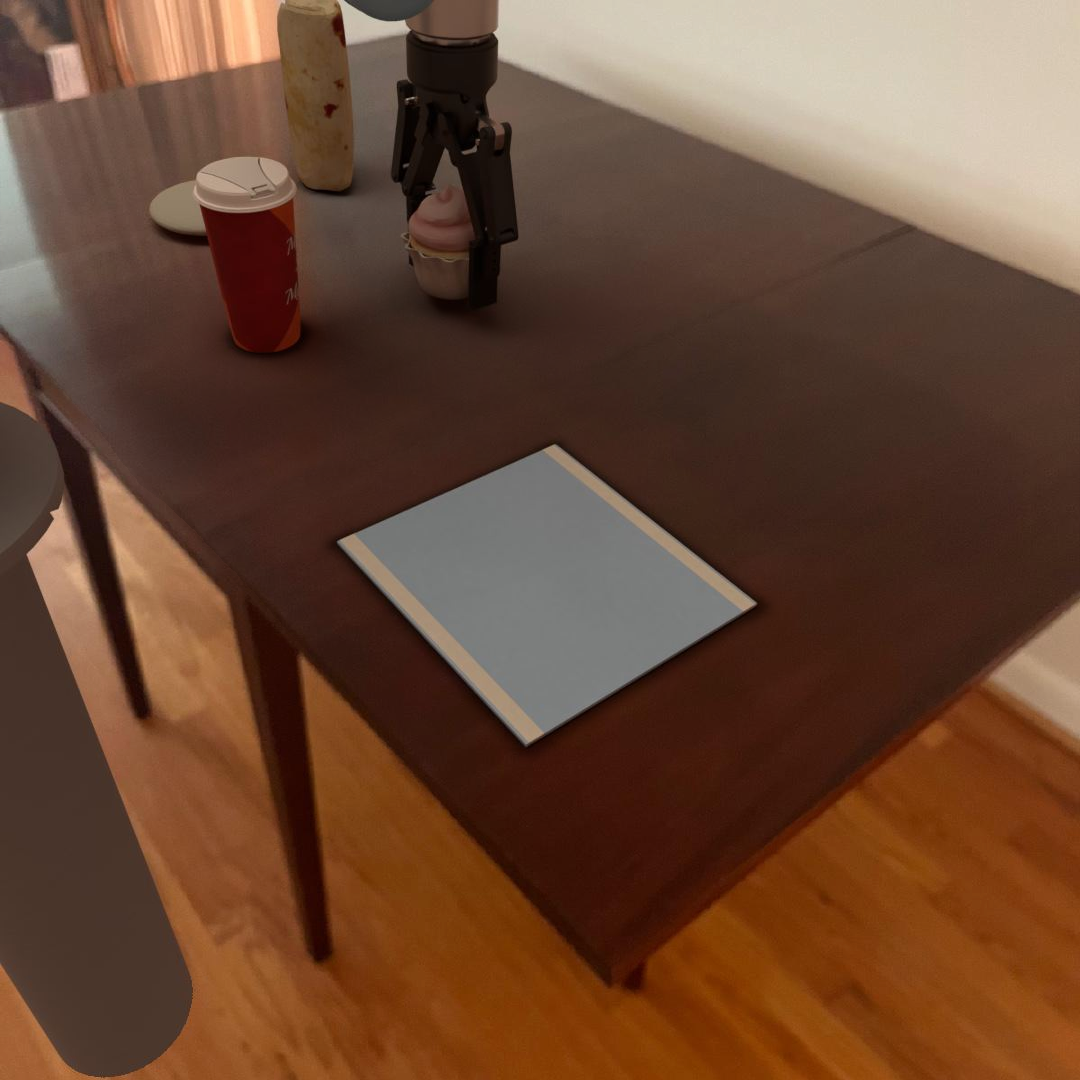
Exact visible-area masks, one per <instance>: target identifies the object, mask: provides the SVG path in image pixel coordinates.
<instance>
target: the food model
mask: <svg viewBox="0 0 1080 1080" xmlns="http://www.w3.org/2000/svg"><path fill="white" fill-rule="evenodd" d="M276 32H277V39H278V47H279V55H280V66H281V75H282V85H283V87H282V88H283V93H284V103H285V109H286V115H287V121H288V131H289V137H290V144H291V149H292V156H293V160H294V166H295V169H296V172H297V175H298V177H299V180H300V181H301V182H302V183H303V184H304V185H305V186H306V187H307V188H309V189H312V190H321V191H322V190H323V191H324V190H325V191H332V192H341V191H344V190H345V189H347V188H349V187H350V186H351V184H352V181H353V173H354V157H355V156H354V155H355V154H354V153H355V132H354V131H355V130H354V129H355V128H354V111H353V101H352V100H353V99H352V98H353V97H352V88H351V77H350V76H351V75H350V66H349V55H348V47H347V39H346V30H345V23H344V15H343V11H342V7H341V4H340V2H339V1H338V0H284V2H280V5H279V8H278V10H277V15H276Z"/></svg>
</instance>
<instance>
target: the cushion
mask: <svg viewBox="0 0 1080 1080" xmlns="http://www.w3.org/2000/svg"><path fill="white" fill-rule="evenodd" d="M195 185H196V179H193V180H188V181H185V182H181V183H177V184H175V185H173V186H170V187H168V188H166V189H164V190H162V191H161V192H159V193H158V194H157V195H156V196H155V197H153V199H152V201H151V202H150V204H149V208H148V209H149V210H148V211H149V216H150V218H151V219H152V220H153V221H154V223H156V224H157V225H159V226H160V227H162V228H164V229H165V230H168V231H170V232H173V233H177V234H182V235H187V236H188V235H189V236H199V237H204V236H205V237H206V236H207V233H206V229H205V224H204V220H203V216H202V212H201V208H200V204H199V203H198V202H197V201H196V200H195V199H194V197H193V190H194V187H195Z"/></svg>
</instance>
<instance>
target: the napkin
mask: <svg viewBox="0 0 1080 1080" xmlns="http://www.w3.org/2000/svg"><path fill="white" fill-rule="evenodd" d="M336 543H337V546H338V547H339V548H340V549H341V550H342V551H343V552H344V553H345V554H346V555H347V557H348V558H350V560H351V561H352V562H353V563H354V564H355V565H356V566H357V567H358V569H359V570H360V571H362V573H363V574H364V575H365V576H366V577H367V578H368V580H370V581H371V582H372V583H373V584H374V586H375V587H376V588H377V589H378V590H379V592H381V593H382V594H383V596H384V597H386V598H387V600H389V602H390V603H391V604H392V605H393V606H394V607H395V608H396V609H397V610H398V612H400V613H401V614H402V616H403V617H404V618H405V619H406V620H407V621H408V622H409V623H410V624H411V625H412V626H413V627H414V629H415V630H417V632H418V633H419V634H420V635H421V636H422V637H423V638H424V640H426V642H427V643H428V644H429V645H430V646H431V647H432V648H433V649H434V650H435V651H436V652H437V653H438V654H439V656H440V657H441V658H442V659H443V660H444V661H445V662H446V663H447V664H448V665H449V666H450V667H451V668H452V669H453V671H454V672H455V673H456V674H457V675H458V676H459V677H460V678H461V679H462V680H463V682H464V683H466V685H467V686H468V687H469V688H470V689H471V690H472V691H473V692H474V694H475V695H477V697H478V698H479V699H480V700H481V701H482V702H483V704H485V705H486V706H487V707H488V708H489V709H490V710H491V712H492V713H493V715H495V716H496V717H497V718H498V719H499V720H500V721H501V722H502V724H503V725H505V727H506V728H507V729H508V730H509V732H510V733H512V735H514V737H516V739H517V740H518V741H520V744H522V745H523V747H524V748H528V747H529V746H531V745H532V744H535V743H536V742H538V741H539V740H541V739H542V738H544V737H545V736H547V735H549V734H550V733H552V732H554V731H555V730H557V729H558V728H560V727H562V726H563V725H565V724H566V723H568V722H570V721H572V720H573V719H575V718H576V717H578V716H580V715H581V714H583V713H584V712H586V711H588V710H589V709H591V708H593V707H595V706H596V705H598V704H599V703H601V702H603V701H604V700H606V699H607V698H610V697H611V696H612V695H614V694H615V693H617V692H619V691H621V690H622V689H624V688H625V687H627V686H629V685H630V684H632V683H634V682H636V681H637V680H638V679H640V678H642V677H643V676H645V675H647V674H649V673H650V672H651V671H653V670H655V669H657V668H658V667H660V666H661V665H663V664H664V663H666V662H668V661H669V660H671V659H673V658H674V657H676V656H678V655H679V654H681V653H683V652H684V651H686V650H688V649H690V648H691V647H692V646H694V645H696V644H697V643H698V642H700V641H702V640H704V639H706V638H707V637H708V636H710V635H712V634H713V633H715V632H717V631H718V630H720V629H722V628H723V627H725V626H726V625H728V624H729V623H731V622H733V621H734V620H736V619H738V618H739V617H741V616H743V615H744V614H746V613H747V612H749V611H751V610H753V609H754V608H756V607H757V606H758V603H757V601H755V600H754V599H752V598H751V597H750V596H749V595H748V594H746V593H745V592H743V591H742V590H741V589H740V588H739V587H737V586H736V585H735V584H734V583H733V582H731V581H730V580H729V579H727V577H725V576H724V575H722V573H720V572H718V571H717V570H715V568H713V567H712V566H711V565H709V564H708V563H707V562H706V561H704V559H702V558H701V557H700V556H699V555H697V554H695V552H693V551H692V550H691V549H689V547H687V546H685V545H684V544H683V543H682V542H681V541H679V540H678V539H677V538H675V537H674V536H673V535H672V534H670V532H668V531H666V530H665V529H664V528H663V527H662V526H660V525H659V524H658V523H656V522H655V521H654V520H652V519H651V518H650V517H649V516H648V515H646V514H645V513H643V511H641V510H640V509H638V508H637V507H636V506H635V505H634V504H633V503H631V502H630V501H629V500H627V499H626V498H624V497H623V496H622V495H621V494H620V493H618V491H616V490H615V489H614V488H612V487H611V486H609V485H608V484H607V483H606V482H605V481H603V480H602V479H601V478H599V477H598V476H597V475H596V474H594V473H593V472H592V471H591V470H589V469H588V468H587V467H585V466H584V465H583V464H582V463H581V462H579V461H578V460H577V459H575V458H574V457H573V456H571V455H570V454H569V453H568V452H566V451H565V450H564V449H563V448H561V447H560V446H559V445H558V444H556V443H554V444H552V445H550V446H548V447H545V448H543V449H541V450H539V451H537V452H534V453H532V454H530V455H528V456H526V457H523V458H521V459H519V460H517V461H515V462H512V463H510V464H508V465H506V466H503V467H500V468H498V469H497V470H494V471H492V472H489V473H487V474H485V475H482V476H481V477H478V478H475V479H473V480H471V481H470V482H467V483H465V484H463V485H460V486H459V487H456V488H454V489H451V490H449V491H447V492H444V493H443V494H440V495H438V496H435V497H434V498H431V499H428V500H427V501H425V502H422V503H420V504H417V505H416V506H413V507H411V508H409V509H406V510H404V511H402V512H400V513H398V514H395V515H393V516H391V517H388V518H386V519H384V520H382V521H379V522H378V523H375V524H373V525H371V526H368V527H365V528H364V529H362V530H359V531H357V532H354V533H352V534H349V535H348V536H345V537H343V538H341V539H339V540H337V541H336Z"/></svg>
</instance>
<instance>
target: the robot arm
mask: <svg viewBox="0 0 1080 1080" xmlns="http://www.w3.org/2000/svg"><path fill="white" fill-rule="evenodd" d="M343 1H344V2H345V3H347V4H348V5H349V6H350V7H353V8H354V9H356V10H357V11H359V12H361V13H362V14H364V15H365V16H368V17H370V18H373V19H375V20H378V21H383V22H402V21H404V22H405V26H406V27H407V28H408V29H409V31H408V33H407V34H406V35H405V51H406V53H405V54H406V55H405V56H406V58H405V59H406V77H407V78H405V79H399V80H397V81H396V97H397V98H396V99H397V114H396V122H395V131H394V142H393V148H392V149H393V150H392V160H391V169H390V178H391V180H392V182H393V183H394V184H398V183H399V184H400V185H401V192H402V194H403V196H404V197H405V203H406V222H407V226H408V225H409V220H410V218H411V216H412V215H413V214H414V213H415V212H416V211H417V210H418V208H419V206H420V204H421V202H422V201H423V200H424V199H425V198H426V197H428V196H429V195H432V194H433V193H428V194H427V192H430V191H433V190H434V191H435V190H436V189H437V186H436V185H435V184H434V179H435V176H436V174H437V171H438V169H439V166H440V163H441V160H442V157H443V155H444V152H445V149H446V150H447V153H448V157H449V160H450V163H451V165H452V166H453V167H455V168H456V169H457V171H458V175H459V179H460V183H461V188H462V189H463V191H464V195H465V199H466V203H467V207H468V211H469V215H470V219H471V223H472V227H473V231H474V235H475V240H472V241H469V294H468V298H467V299H468V300H467V301H468V302H467V303H468V304H467V307H468V308H469V309H470V310H472V311H476V310H479V309H483V308H485V307H488V306H491V305H495V304H497V303H498V302H497V301H498V278H499V277H498V276H500V273H501V260H502V259H501V258H502V257H501V255H502V246H504V245H507V244H510V243H514V242H517V241H518V240H519V228H518V227H519V226H518V217H517V209H516V208H517V207H516V195H515V189H514V187H515V186H514V178H513V168H512V160H511V145H512V136H513V128H512V125H511V123H509V122H508V121H505V122H499V123H497V122H496V121H495V120H494V119H492V118H491V117H490V112H489V107H488V103H487V102H488V101H487V94H488V93H489V91H490V90H491V88H492V87H493V86H494V85H495V84H496V82H497V80H498V69H499V68H498V66H499V65H498V64H499V39H498V37H497V36H496V34H495V32H496V31H497V29H498V28H499V10H500V9H499V6H500V4H499V3H500V0H343ZM475 147H476V151H474V152H469V153H463V152H466V151H470V150H472V149H474V148H475ZM405 165H407V166H405ZM486 227H487V230H485V228H486ZM408 231H409V229H408V228H407V232H408ZM408 264H409V265H410V266H411V267H413V268H414V265H413V261H412V258H411V256H410V255H409V254H408Z"/></svg>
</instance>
